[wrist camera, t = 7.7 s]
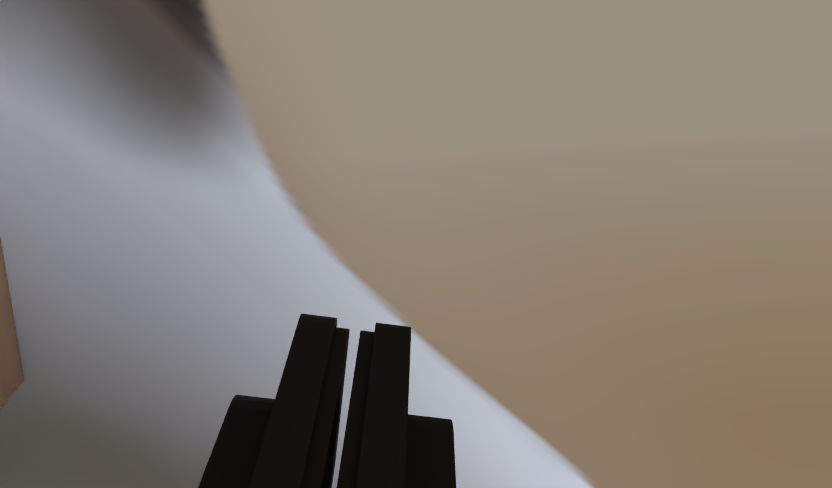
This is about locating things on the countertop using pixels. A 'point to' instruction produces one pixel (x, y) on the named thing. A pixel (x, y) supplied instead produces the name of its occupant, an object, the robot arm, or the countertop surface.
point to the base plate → (7, 342)
